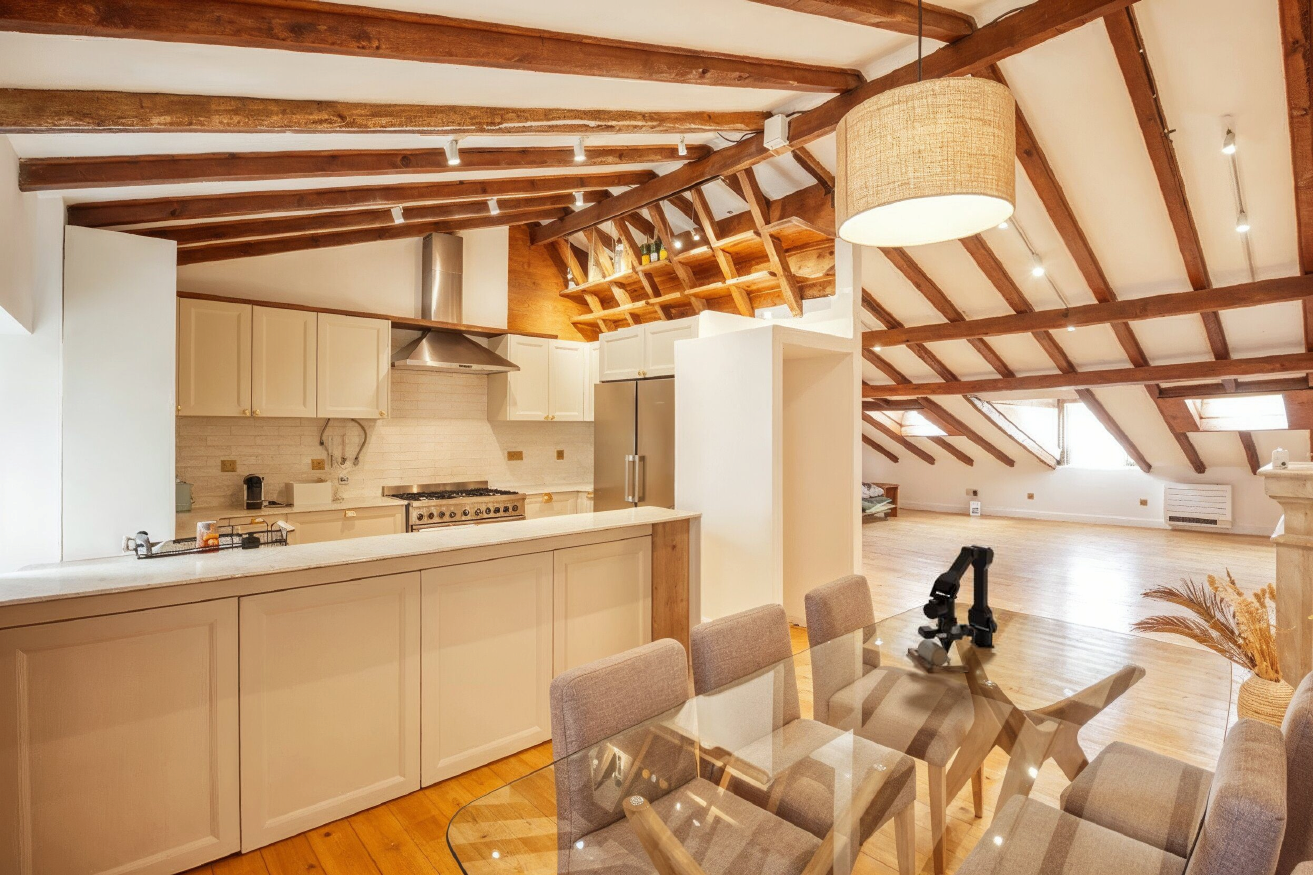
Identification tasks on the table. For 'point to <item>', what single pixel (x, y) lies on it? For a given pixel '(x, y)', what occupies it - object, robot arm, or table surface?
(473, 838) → the table surface
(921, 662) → the walnut corral
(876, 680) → the table surface
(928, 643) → the ceramic mug
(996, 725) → the table surface
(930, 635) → the robot arm
